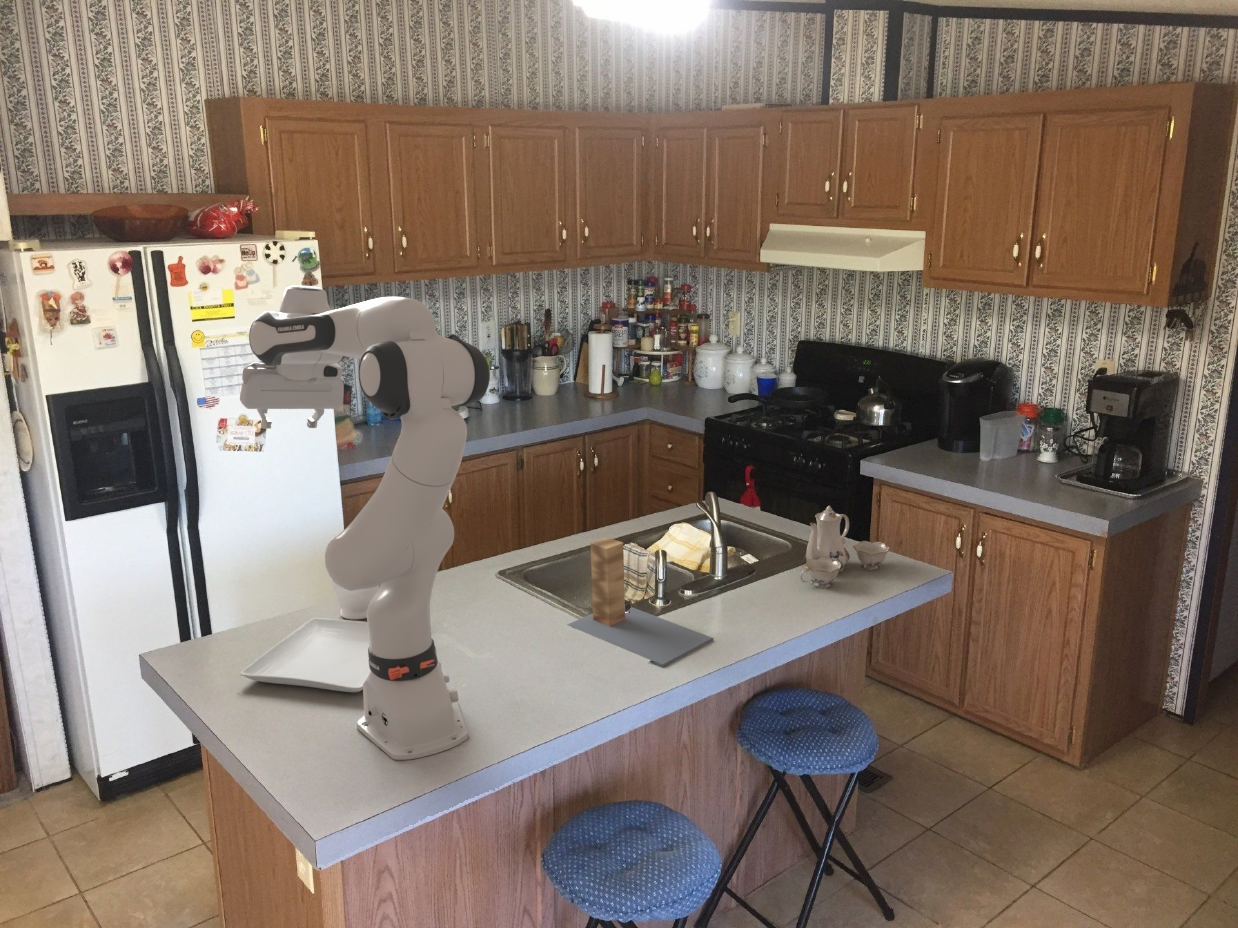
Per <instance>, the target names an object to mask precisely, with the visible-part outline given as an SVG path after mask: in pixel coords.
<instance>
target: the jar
mask: <svg viewBox="0 0 1238 928" xmlns="http://www.w3.org/2000/svg"><path fill="white" fill-rule="evenodd" d="M331 582H332V583H331V584H332V588H333V591H334V594H335V598H336V601H337V603H338V605H339V607H340V608H341V609H340V611H339V612H340V613H339V614H340V616H341V617H342V618H344V619H345V620H352V621H357V620H363V619H367V608H368V605H369V603H370V601H371V600H372V598H373V597H374V595H375V594H376V593H377V591H378V590H379V588H380V585H378V586H376V587H372V588H367V589H362V590H356V591H347V590H344V589H342V588H341V587H339V586H338V585H337V584H336V583H335V582H334V581H333V580H332V579H331Z"/></svg>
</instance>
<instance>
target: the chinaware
mask: <svg viewBox="0 0 1238 928" xmlns="http://www.w3.org/2000/svg"><path fill="white" fill-rule="evenodd" d="M814 517H815V518H816V523H815V522H810V523H809V524H810V526H811V532H810V535H809V538H808V543H807V547H806V553H805V555H804V560H805V561H806V562H805V564H804V569H802V571H801V572H800V575H799V577H800V580H801V581H802V582H803V583H808V582H810V584H811V585H815V587H817V588H823V589H827V588H829V587H831V586H832V584H830V583H832V582H834V581H835V579H836V578H837V577H838V575H839V574H840V573H843V572H844V571H845V567H846V565H847V564H848V562H849V560H850V558H851V556H850V554H849V552H848V550H847V549H846V546H845V543H846V538H845V537H846V536H847V534H848V533H849V529H850V519H849V516H847V515H846V514H842V513H841V514H839V513H838V512H837V513H836V512H835V511H834V510H833V508H832V507H831V505H828V506H827V507H826V508H825V510H823V511H821V512H818V513H816V514H815V516H814ZM843 518H844V520H845V527H844V531H843V533H842V534H841V531H840V529H841V522H842V519H843ZM852 548H853V549H854V550H855V551H856V555H857V558H858V560H859V561H860V563H862V564H863V569H866V570H870V571H872V570H878V568H879V567H878V566H879V565H880V564H882V563H883V562H884V561H885V559H886V557H887V554H888V552H889V551H891V546H886V544H885V543H884V542H882V541H874V542H871V541H868V540H862V541H859V542H858V543H857V544H854V545H853V546H852ZM804 572H805V573H808V576H809V578H810V579H807V580H804V579H803V578H802V577H803V576H802V575H803V573H804Z"/></svg>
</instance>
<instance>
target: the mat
mask: <svg viewBox="0 0 1238 928" xmlns="http://www.w3.org/2000/svg"><path fill="white" fill-rule="evenodd" d="M630 607H631V608H630V613H625V619H624V620H622V621H620V622H617V623H615V624H613V625H611V626H607V625H605V624H602V623H600V622H597V621H595V620H593V612H592V613H590V614H588V615H586V616H583V617H581V618H579V619H577V620H574V621H572V622H570V623H568V624H567V626H569V627H572V628H574V629H576V630H578V631H581V632H583V633H585V634H588V635H590V636H592V637H595V638H597V639H599V640H603V641H604V642H607V643H609V644H612V645H614V646H617V647H619V648H621V649H623V650H625V651H629V652H631V653H633V654H635V655H637V656H640V657H642V658H645V659H648V660H649V661H648V662H649V663H651V664H654V665H657V666H659V668H664V667H665V666H668V665H669V664H671V663H673V662H675V661H677V660H679V659H681V658H683V657H685V656H687V655H688V654H691V653H692V652H694V651H695V650H696V651H697V650H698V649H700V648H701V647H703V646H705V645H707V644H709V643H711V642H713V641H714V638H713V637H711V636H709V635H708V634H707V635H706V634H703V633H701V632H698V631H696V630H693V629H690V628H688V627H685V626H684V625H683V626H682V625H680V624H678V623H675V622H672V621H670V620H666V619H664V618H662V617H660V616H659V617H658V616H657V615H654V614H651V613H649V612H645V611H642V609H641V610H640V609H637V608H635V607H633V606H630Z"/></svg>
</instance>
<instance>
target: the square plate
mask: <svg viewBox="0 0 1238 928" xmlns="http://www.w3.org/2000/svg"><path fill="white" fill-rule="evenodd" d="M369 646H370V643H369V633H368V624H367V621H363V620H352V619H341V618H339V619H337V618H326V617H325V618H324V617H323V618H322V617H312V618H310V619H309V620H307V621H306V622H305V623H304V624H302V625H300V626H299V627H297V628H296V629H295V630H294V631H292V632H290V633H289V634H288V635H287V636H285V637H284V638H283V639H282V640H280V641H279V642H278V643H277V644H275V645H274V646H272V647H270V648H269V649H268V650H267V651H266V652H264V653H263V654H261V656H259V657H257V658H256V659H255V660H254V661H252V662H251V663H250V664H249V665H247V666H246V667H245V668H244V669H242V670H241V671H240V672H239V676H242V677H245V678H246V679H249V680H252V681H256V682H260V683H269V684H279V685H288V686H289V685H290V686H299V687H300V686H301V687H306V688H309V687H310V688H315V689H322V690H329V691H337V692H345V693H359V692H361V691H363V683H364V681H365V680H366V678H367V677H368V675H369V673H370V668H369V662H368V648H369Z"/></svg>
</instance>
